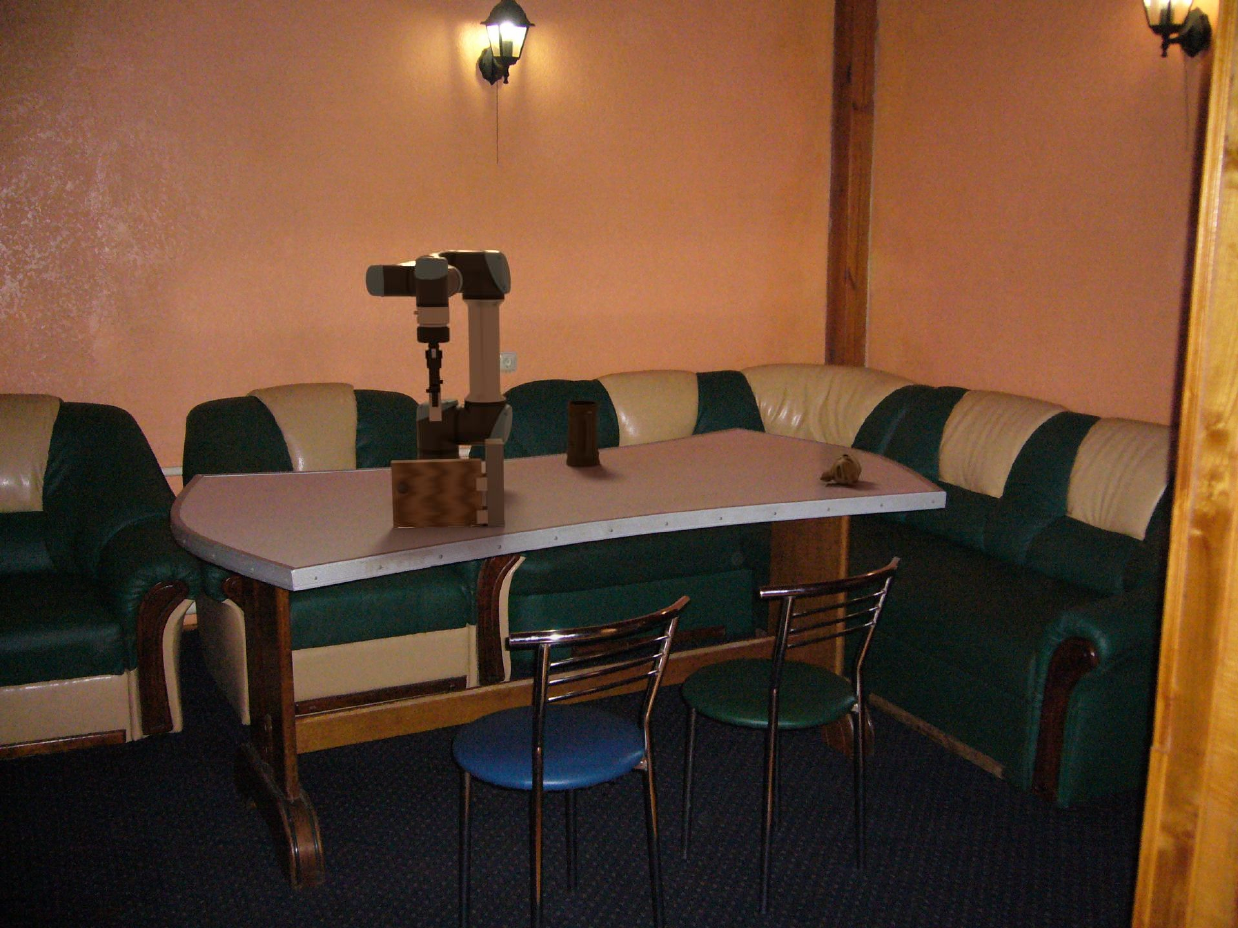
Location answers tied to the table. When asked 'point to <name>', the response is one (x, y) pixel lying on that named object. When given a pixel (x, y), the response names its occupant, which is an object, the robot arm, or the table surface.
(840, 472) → the ceramic sculpture
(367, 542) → the table surface
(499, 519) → the cabinet side
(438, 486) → the door
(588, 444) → the beer stein
